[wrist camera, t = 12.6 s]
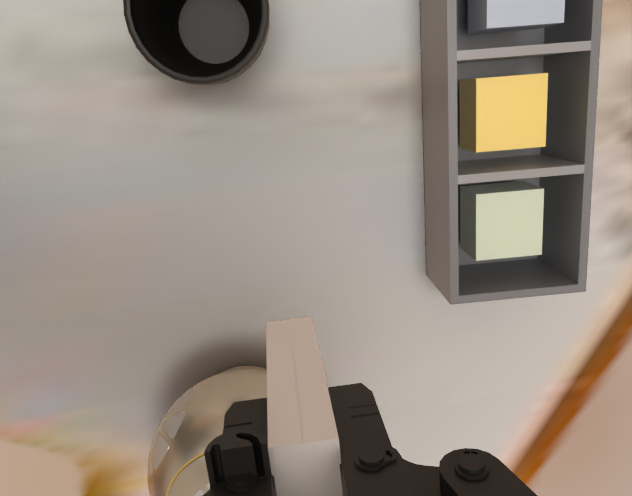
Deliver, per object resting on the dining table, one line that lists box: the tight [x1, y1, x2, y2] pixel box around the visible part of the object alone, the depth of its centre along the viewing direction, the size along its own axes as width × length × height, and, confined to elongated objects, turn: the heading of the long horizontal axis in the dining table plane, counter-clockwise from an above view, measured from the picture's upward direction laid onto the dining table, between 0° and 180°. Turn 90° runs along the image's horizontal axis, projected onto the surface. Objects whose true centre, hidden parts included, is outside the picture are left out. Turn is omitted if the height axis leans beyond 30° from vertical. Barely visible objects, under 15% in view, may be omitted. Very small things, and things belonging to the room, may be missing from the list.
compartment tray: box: [420, 0, 603, 304], centre depth 39 cm, size 10×34×7 cm, turn 4°
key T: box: [459, 73, 548, 152], centre depth 41 cm, size 5×5×4 cm
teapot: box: [148, 366, 267, 496], centre depth 42 cm, size 18×14×16 cm
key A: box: [460, 181, 544, 261], centre depth 43 cm, size 5×5×4 cm
